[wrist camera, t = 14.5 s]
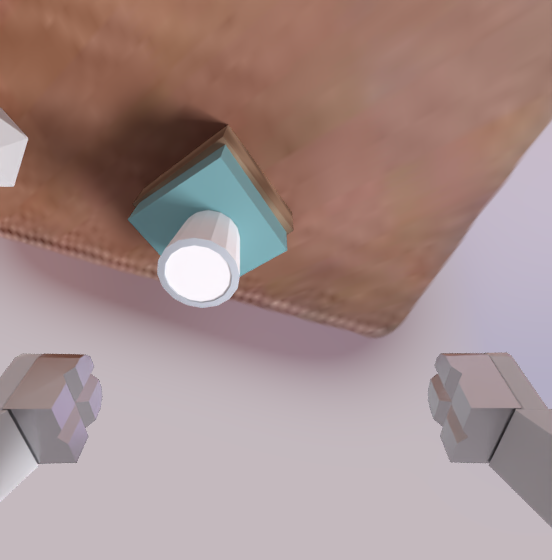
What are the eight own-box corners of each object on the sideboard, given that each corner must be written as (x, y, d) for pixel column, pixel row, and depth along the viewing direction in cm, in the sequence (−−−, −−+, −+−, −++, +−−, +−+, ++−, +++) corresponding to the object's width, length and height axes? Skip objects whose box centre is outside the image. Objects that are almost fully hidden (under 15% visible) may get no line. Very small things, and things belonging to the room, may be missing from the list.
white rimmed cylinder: (168, 253, 41) (148, 293, 35) (186, 192, 37) (167, 226, 31) (233, 276, 42) (224, 318, 36) (256, 219, 39) (251, 256, 33)
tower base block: (145, 186, 46) (132, 204, 42) (228, 123, 43) (223, 136, 38) (212, 261, 52) (207, 283, 48) (291, 211, 48) (293, 230, 44)
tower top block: (139, 202, 42) (127, 219, 39) (225, 144, 39) (220, 157, 35) (205, 278, 47) (200, 298, 44) (286, 232, 44) (287, 250, 41)
